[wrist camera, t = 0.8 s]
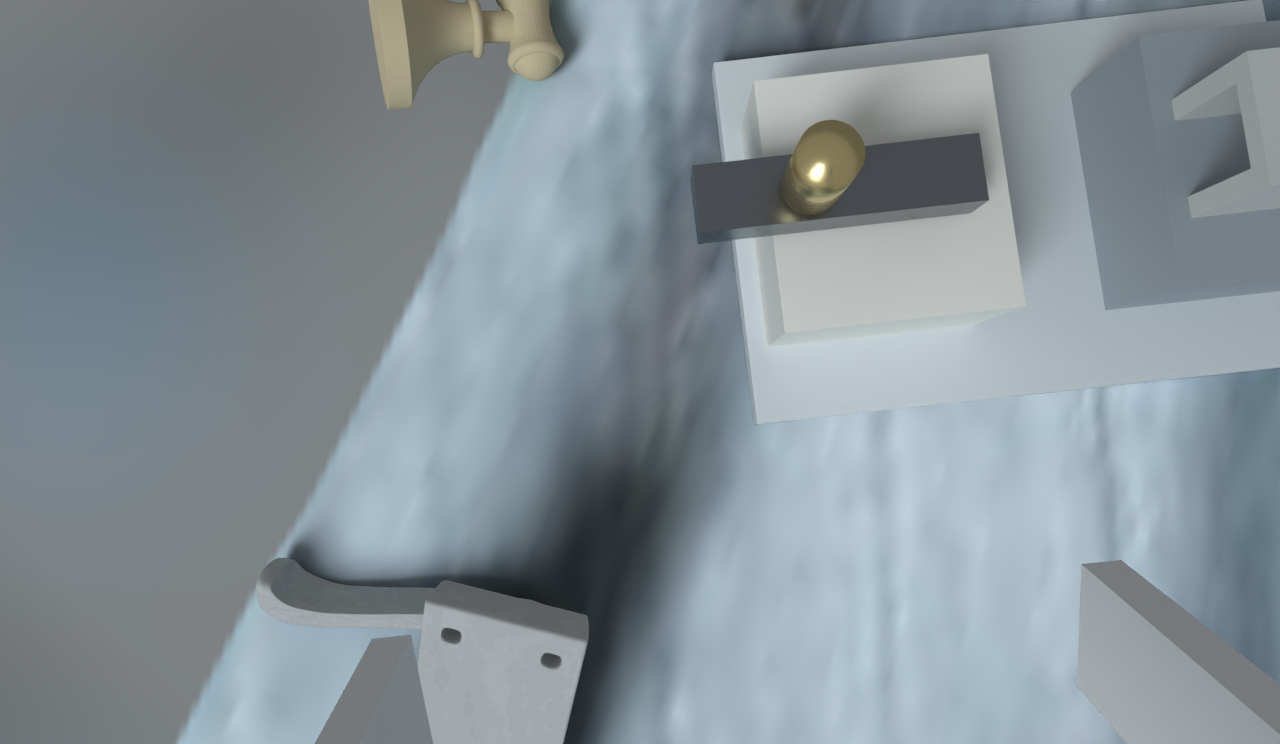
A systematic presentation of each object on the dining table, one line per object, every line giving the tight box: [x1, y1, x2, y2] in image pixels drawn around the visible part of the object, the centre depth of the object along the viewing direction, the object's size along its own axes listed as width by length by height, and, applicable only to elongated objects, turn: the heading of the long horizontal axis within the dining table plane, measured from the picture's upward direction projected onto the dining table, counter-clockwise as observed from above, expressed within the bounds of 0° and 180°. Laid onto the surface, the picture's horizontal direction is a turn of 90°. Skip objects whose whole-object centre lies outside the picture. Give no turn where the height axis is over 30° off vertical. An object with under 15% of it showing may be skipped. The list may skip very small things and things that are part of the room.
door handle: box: [256, 558, 589, 744], centre depth 39 cm, size 18×8×20 cm
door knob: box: [369, 0, 564, 110], centre depth 42 cm, size 10×8×8 cm
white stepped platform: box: [712, 0, 1280, 425], centre depth 37 cm, size 20×30×12 cm, turn 96°
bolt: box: [690, 120, 989, 244], centre depth 33 cm, size 3×12×6 cm, turn 96°
